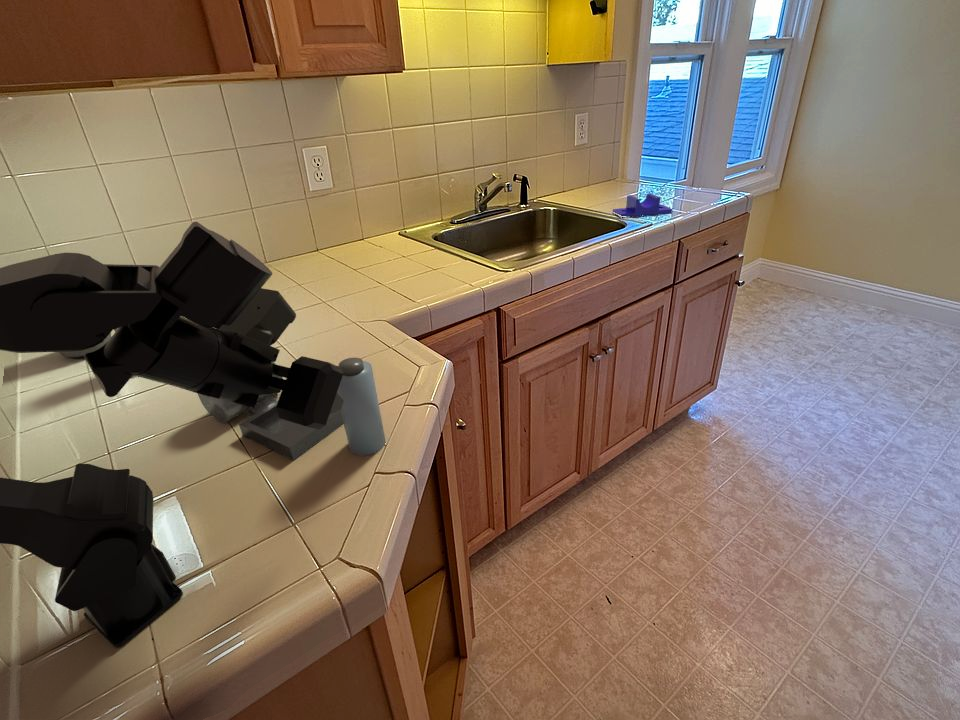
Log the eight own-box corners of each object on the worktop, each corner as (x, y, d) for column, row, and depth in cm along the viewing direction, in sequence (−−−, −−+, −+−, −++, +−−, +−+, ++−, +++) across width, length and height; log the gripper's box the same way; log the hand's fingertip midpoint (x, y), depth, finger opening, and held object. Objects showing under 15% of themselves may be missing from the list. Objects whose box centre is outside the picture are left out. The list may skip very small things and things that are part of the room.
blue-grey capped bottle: (368, 460, 67) (350, 377, 60) (341, 448, 69) (322, 367, 63) (392, 439, 70) (378, 358, 64) (366, 428, 73) (350, 350, 66)
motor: (293, 460, 67) (277, 409, 63) (203, 417, 77) (184, 370, 73) (351, 417, 75) (341, 369, 71) (262, 383, 85) (249, 339, 81)
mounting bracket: (661, 209, 175) (663, 192, 172) (671, 214, 169) (674, 196, 166) (612, 214, 173) (613, 196, 170) (620, 219, 167) (622, 201, 164)
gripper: (306, 285, 41) (398, 344, 55) (162, 263, 49) (275, 319, 63) (257, 414, 39) (366, 441, 53) (115, 370, 47) (243, 404, 61)
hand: (310, 396), depth 58 cm, fingers open, 9 cm apart
